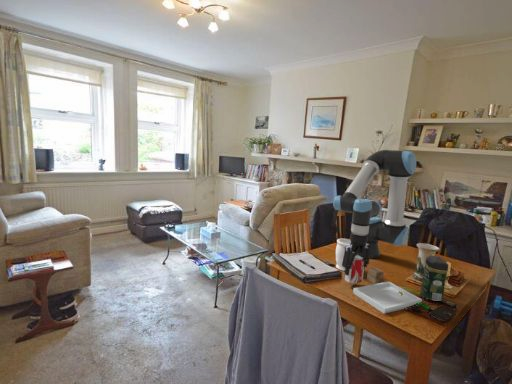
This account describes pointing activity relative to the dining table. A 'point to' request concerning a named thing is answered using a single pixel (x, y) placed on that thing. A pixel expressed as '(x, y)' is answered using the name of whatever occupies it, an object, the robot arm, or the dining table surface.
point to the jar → (341, 252)
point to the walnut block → (375, 275)
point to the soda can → (357, 269)
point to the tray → (386, 296)
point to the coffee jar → (434, 278)
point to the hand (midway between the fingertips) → (353, 279)
